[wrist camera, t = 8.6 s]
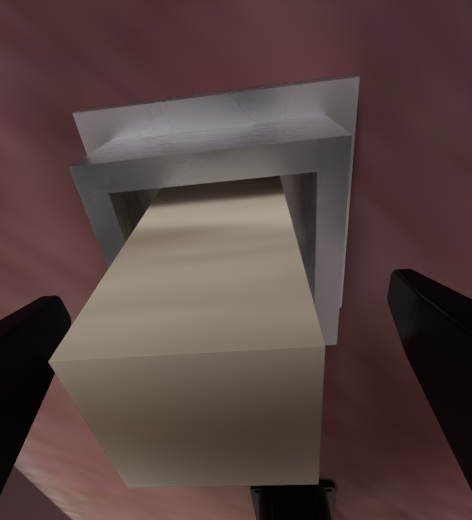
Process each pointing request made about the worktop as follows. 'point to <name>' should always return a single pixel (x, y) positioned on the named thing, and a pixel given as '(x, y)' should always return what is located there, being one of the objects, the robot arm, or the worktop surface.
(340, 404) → the worktop surface
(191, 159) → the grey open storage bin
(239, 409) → the beige rectangular block
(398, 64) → the worktop surface
